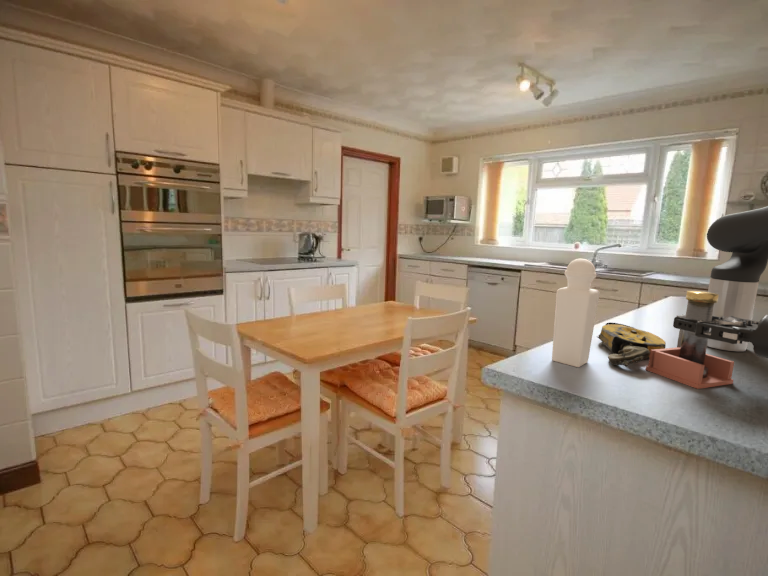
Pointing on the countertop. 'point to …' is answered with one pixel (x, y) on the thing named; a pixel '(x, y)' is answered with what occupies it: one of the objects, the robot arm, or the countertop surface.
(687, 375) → the keeper bracket
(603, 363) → the countertop surface
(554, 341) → the white square bottle
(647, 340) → the pulley block
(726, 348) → the robot arm
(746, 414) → the countertop surface
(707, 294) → the tie-down post
